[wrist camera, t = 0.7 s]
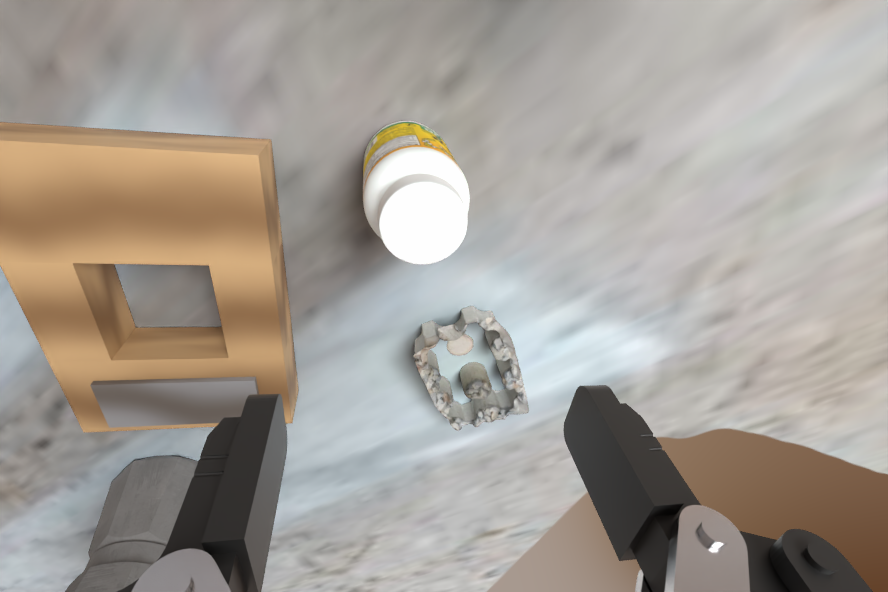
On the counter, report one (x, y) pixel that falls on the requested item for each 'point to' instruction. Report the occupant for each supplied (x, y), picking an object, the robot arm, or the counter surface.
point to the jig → (147, 242)
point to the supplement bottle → (414, 193)
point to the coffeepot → (135, 522)
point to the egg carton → (471, 371)
